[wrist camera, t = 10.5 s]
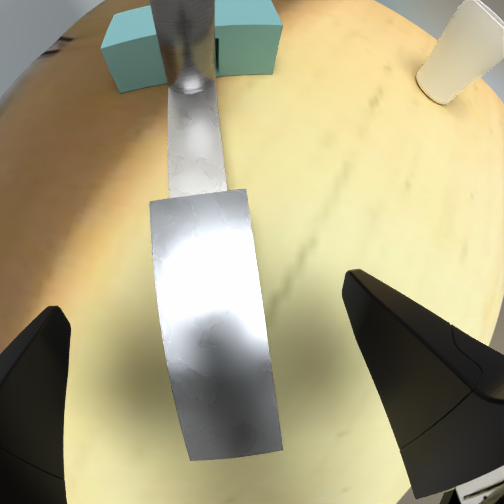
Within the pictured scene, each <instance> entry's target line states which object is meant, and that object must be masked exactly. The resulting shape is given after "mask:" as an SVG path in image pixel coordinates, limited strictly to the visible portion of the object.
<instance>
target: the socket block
mask: <svg viewBox="0 0 504 504" xmlns="http://www.w3.org/2000/svg"><path fill="white" fill-rule="evenodd" d="M282 27H283V25H282V23H281V20H280V18H279V16H278V14H277V12H276V10H275V8H274V6H273V3H272V1H271V0H215V60H216V77H220V76H233V75H253V74H272V73H273V68H274V64H275V59H276V54H277V50H278V45H279V40H280V36H281V31H282ZM100 49H101V52H102V54H103V56H104V59H105V61H106V63H107V65H108V68H109V70H110V72H111V74H112V77H113V79H114V81H115V83H116V85H117V88H118V90H119V92H120V93H124V92H128V91H132V90H136V89H141V88H145V87H150V86H155V85H160V84H166V83H167V79H166V75H165V70H164V66H163V62H162V57H161V53H160V48H159V44H158V39H157V35H156V30H155V25H154V20H153V16H152V11H151V6H145V7H141V8H137V9H133V10H129V11H125V12H122V13H118V14H115V15H114V16H113V19H112V21H111V23H110V26H109V28H108V30H107V33H106V35H105V38H104V40H103V43H102V46H101V48H100Z"/></svg>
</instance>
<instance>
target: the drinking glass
mask: <svg viewBox="0 0 504 504" xmlns="http://www.w3.org/2000/svg"><path fill="white" fill-rule="evenodd" d="M503 59H504V22H503V21H502V20H501V19H500V18H499V17H498V16H497V15H496V14H495V13H494V12H493V11H492V10H491V9H490V8H488V7H487V6H486V5H485V4H484V3H482V2H481V1H480V0H464V1H463V2H462V3H461V5H460V6H459V7H458V9H457V10H456V11H455V13H454V15H453V16H452V18H451V19H450V21H449V23H448V24H447V26H446V28H445V29H444V31H443V33H442V35H441V36H440V38H439V40H438V41H437V43H436V45H435V46H434V48H433V50H432V51H431V53H430V54H429V56H428V58H427V59H426V61H425V62H424V64H423V65H422V67H421V68H420V69H419V70H418V72H417V74H416V79H417V82H418V84H419V86H420V88H421V89H422V90H423V92H424V93H425V94H426V95H427V96H428V97H430V98H431V99H432V100H434V101H435V102H437V103H439V104H448V103H449V102H451V101H452V100H453V99H454V98H455V97H456V96H457V95H458V94H460V93H461V92H462V91H463V90H465V89H466V88H467V87H469V86H470V85H471V84H472V83H474V82H475V81H476V80H478V79H479V78H480V77H482V76H483V75H484V74H486V73H487V72H488V71H490V70H491V69H492V68H494V67H495V66H496V65H497V64H498V63H500V62H501V61H502V60H503Z"/></svg>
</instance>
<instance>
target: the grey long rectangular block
mask: <svg viewBox="0 0 504 504" xmlns="http://www.w3.org/2000/svg"><path fill="white" fill-rule="evenodd" d="M150 225H151V242H152V255H153V267H154V277H155V287H156V296H157V304H158V311H159V319H160V326H161V332H162V339H163V345H164V351H165V356H166V362H167V367H168V372H169V377H170V382H171V387H172V392H173V396H174V401H175V405H176V409H177V413H178V418H179V422H180V425H181V429H182V433H183V437H184V440H185V444H186V448H187V451H188V454H189V458H190V461H195V460H213V459H225V458H235V457H244V456H251V455H258V454H264V453H270V452H276V451H281V450H283V445H282V438H281V431H280V424H279V417H278V409H277V402H276V395H275V388H274V381H273V374H272V367H271V359H270V352H269V345H268V338H267V331H266V324H265V317H264V310H263V303H262V296H261V289H260V282H259V275H258V268H257V261H256V254H255V248H254V241H253V234H252V227H251V220H250V213H249V206H248V199H247V193H246V189H239V190H230V191H221V192H213V193H205V194H197V195H190V196H183V197H176V198H169V199H163V200H156V201H150Z"/></svg>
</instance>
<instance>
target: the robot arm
mask: <svg viewBox="0 0 504 504" xmlns="http://www.w3.org/2000/svg"><path fill="white" fill-rule="evenodd" d="M342 298H343V301H344V304H345V307H346V310H347V313H348V316H349V319H350V323H351V326H352V329H353V332H354V335H355V338H356V341H357V343H358V346H359V348H360V350H361V353H362V355H363V357H364V360H365V362H366V364H367V367H368V369H369V371H370V374H371V376H372V379H373V381H374V384H375V386H376V388H377V391H378V393H379V396H380V398H381V401H382V404H383V406H384V409H385V411H386V414H387V417H388V419H389V422H390V425H391V427H392V430H393V433H394V436H395V438H396V441H397V444H398V447H399V449H400V453H401V456H402V459H403V462H404V465H405V468H406V471H407V474H408V477H409V480H410V484H411V487H412V490H413V493H414V496H415V499H419V498H422V497H426V496H429V495H432V494H436V493H439V492H442V491H445V490H448V489H449V490H448V491H446V492H445V493H444V495H443V497H442V499H441V502H440V504H504V355H502V354H501V353H499V352H497V351H495V350H494V349H492V348H490V347H488V346H486V345H485V344H483V343H481V342H479V341H478V340H476V339H474V338H472V337H471V336H469V335H468V334H466V333H464V332H463V331H461V330H460V329H458V328H456V327H455V326H453V325H450V323H449V322H447V321H445V320H444V319H442V318H441V317H439V316H437V315H436V314H434V313H433V312H431V311H429V310H428V309H426V308H425V307H423V306H421V305H420V304H418V303H416V302H415V301H413V300H412V299H410V298H408V297H407V296H405V295H403V294H402V293H400V292H398V291H397V290H395V289H393V288H392V287H390V286H388V285H387V284H385V283H383V282H381V281H380V280H378V279H376V278H375V277H373V276H371V275H370V274H368V273H366V272H364V271H363V270H361V269H354V270H349V271H347V272H346V274H345V279H344V284H343V288H342ZM70 337H71V326H70V323H69V321H68V319H67V318H66V316H65V315H64V313H63V311H62V310H61V308H60V307H59V306H48V307H47V308H46V309H45V310H43V311H42V312H41V313H40V314H39V315H38V316H37V317H36V318H35V319H34V320H33V321H32V322H31V323H30V324H29V325H28V326H27V327H26V328H25V329H24V330H23V331H22V332H21V333H20V334H19V335H18V336H17V337H16V338H15V339H14V340H13V341H12V342H11V343H10V344H9V345H8V347H7V348H6V349H5V350H4V351H3V352H2V353H1V354H0V504H67V499H66V490H65V480H64V458H63V433H64V410H65V397H66V387H67V378H68V367H69V350H70Z"/></svg>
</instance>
